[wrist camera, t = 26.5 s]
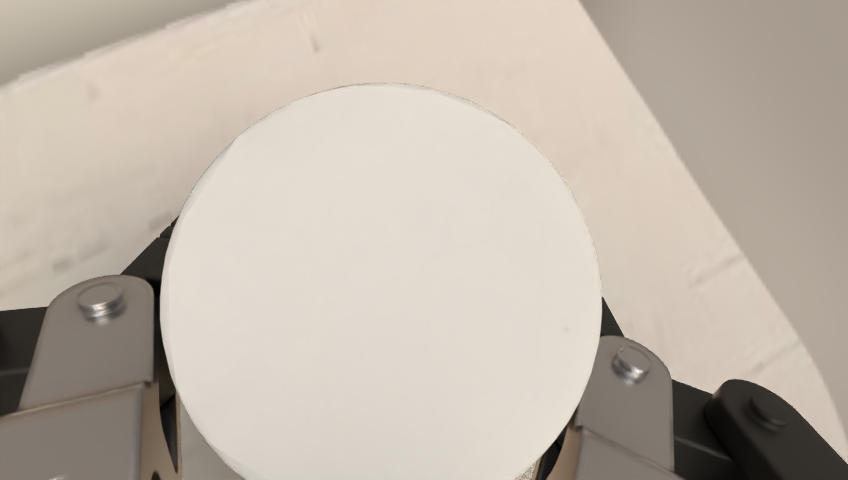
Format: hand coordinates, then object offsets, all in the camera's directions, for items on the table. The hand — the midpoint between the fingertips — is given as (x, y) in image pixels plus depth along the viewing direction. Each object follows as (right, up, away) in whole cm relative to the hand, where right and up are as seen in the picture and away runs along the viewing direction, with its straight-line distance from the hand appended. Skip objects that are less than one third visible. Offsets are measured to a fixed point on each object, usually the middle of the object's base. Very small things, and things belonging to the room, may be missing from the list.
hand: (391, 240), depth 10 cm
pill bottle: (-1, -3, +5) cm, 6 cm away
